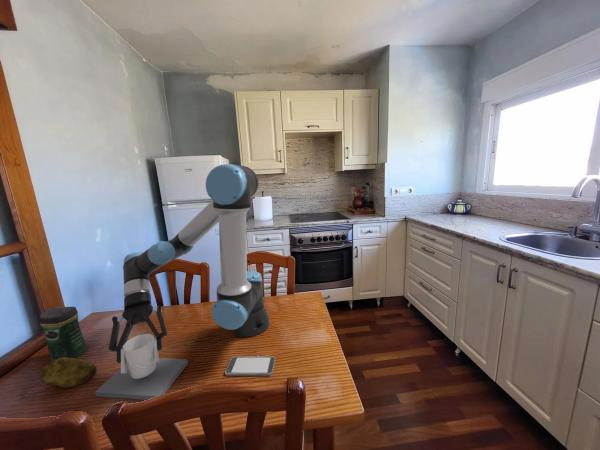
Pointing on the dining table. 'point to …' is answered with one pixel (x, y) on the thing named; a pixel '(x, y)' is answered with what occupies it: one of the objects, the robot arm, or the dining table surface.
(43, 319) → the coffee jar
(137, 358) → the white cup
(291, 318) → the dining table surface
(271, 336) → the dining table surface
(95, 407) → the dining table surface
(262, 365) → the smartphone
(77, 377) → the potato
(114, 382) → the grey board
